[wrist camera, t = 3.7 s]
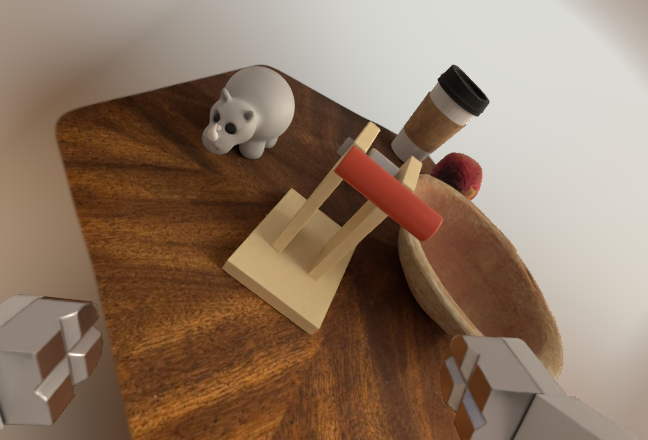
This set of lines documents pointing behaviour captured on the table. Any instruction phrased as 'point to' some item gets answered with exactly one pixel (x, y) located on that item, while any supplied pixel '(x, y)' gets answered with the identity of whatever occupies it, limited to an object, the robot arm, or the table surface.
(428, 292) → the bowl
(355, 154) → the lever
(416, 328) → the table surface
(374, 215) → the wooden lever stand
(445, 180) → the fruit
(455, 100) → the coffee cup
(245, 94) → the chubby cartoon animal
